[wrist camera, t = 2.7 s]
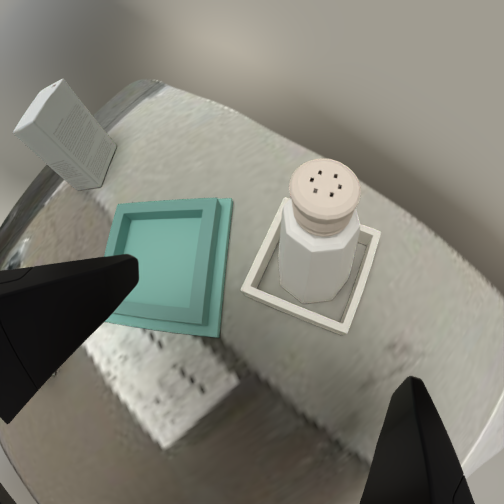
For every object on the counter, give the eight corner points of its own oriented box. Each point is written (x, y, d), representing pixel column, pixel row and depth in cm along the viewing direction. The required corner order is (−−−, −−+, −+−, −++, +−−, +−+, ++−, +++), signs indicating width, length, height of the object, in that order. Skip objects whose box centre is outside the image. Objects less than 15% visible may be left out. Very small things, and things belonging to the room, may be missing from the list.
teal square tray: (219, 337, 19) (211, 335, 18) (100, 320, 21) (86, 317, 20) (233, 201, 23) (227, 189, 21) (124, 207, 25) (113, 197, 23)
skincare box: (93, 152, 30) (40, 90, 18) (118, 146, 29) (64, 76, 18) (76, 192, 27) (10, 133, 16) (101, 189, 27) (33, 120, 16)
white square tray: (342, 335, 18) (347, 333, 16) (245, 296, 20) (240, 290, 18) (374, 242, 20) (381, 231, 18) (285, 209, 22) (284, 196, 20)
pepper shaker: (266, 293, 20) (233, 229, 10) (288, 227, 22) (276, 123, 11) (339, 314, 19) (385, 269, 9) (356, 245, 20) (397, 149, 10)
